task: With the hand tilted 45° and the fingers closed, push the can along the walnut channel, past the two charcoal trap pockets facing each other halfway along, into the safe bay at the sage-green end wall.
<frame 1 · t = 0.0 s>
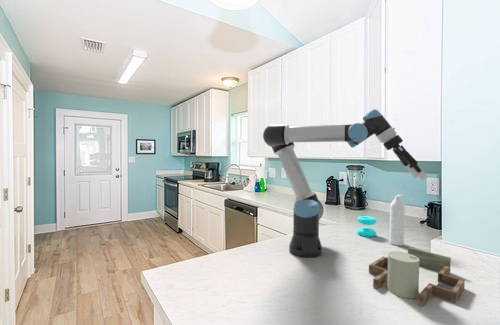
hand: (421, 177, 112), 36 cm above the countertop, tool tilted 35°, fingers open, 13 cm apart
can: (402, 291, 85), on the countertop
donuts: (366, 235, 147), on the countertop
white bottle: (397, 243, 133), on the countertop
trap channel: (413, 280, 92), on the countertop
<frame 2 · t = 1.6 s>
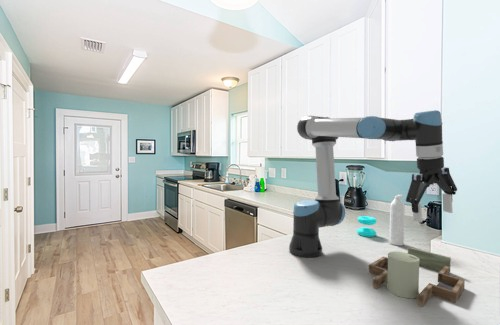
hand: (433, 216, 89), 24 cm above the countertop, tool pointing down, fingers open, 13 cm apart
nothing on the countertop moved.
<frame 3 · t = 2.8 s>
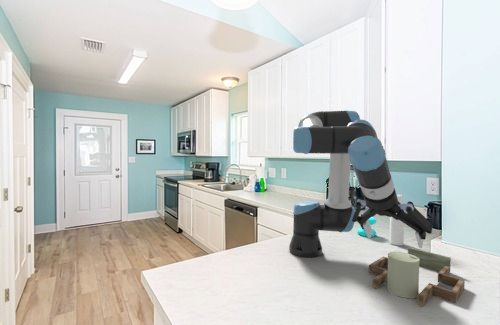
hand: (394, 239, 76), 20 cm above the countertop, tool tilted 40°, fingers open, 13 cm apart
nothing on the countertop moved.
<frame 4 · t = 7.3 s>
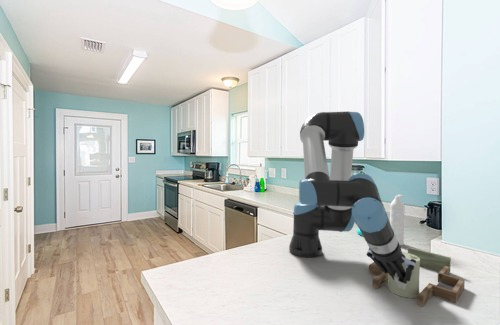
hand: (402, 284, 81), 4 cm above the countertop, tool tilted 45°, fingers closed
can: (402, 291, 85), on the countertop, touching gripper
everything else where it was.
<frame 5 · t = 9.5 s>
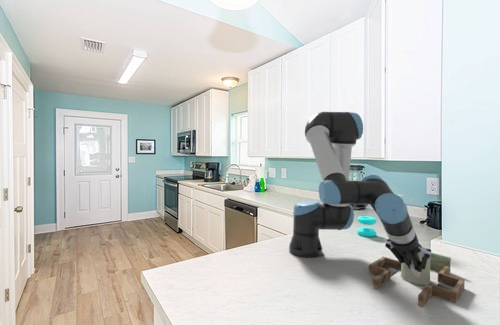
hand: (417, 273, 89), 4 cm above the countertop, tool tilted 45°, fingers closed
can: (415, 279, 93), on the countertop, touching gripper
everything else where it was.
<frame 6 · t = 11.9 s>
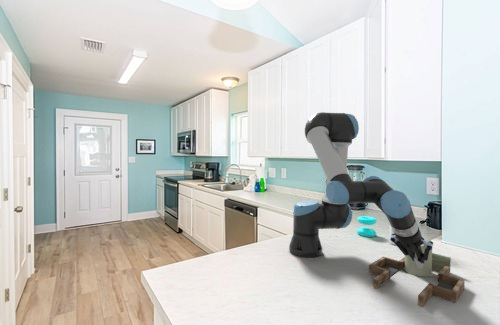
hand: (420, 265, 95), 4 cm above the countertop, tool tilted 45°, fingers closed
can: (417, 271, 100), on the countertop, touching gripper, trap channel
everything else where it was.
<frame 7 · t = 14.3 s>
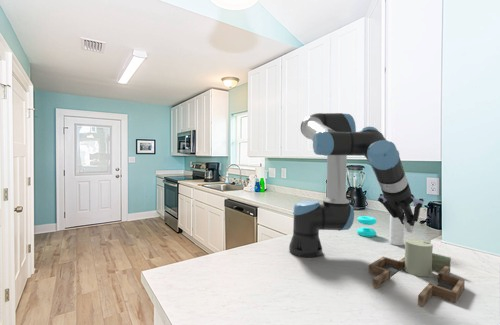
hand: (410, 229, 89), 20 cm above the countertop, tool tilted 45°, fingers closed
can: (417, 271, 100), on the countertop
everything else where it was.
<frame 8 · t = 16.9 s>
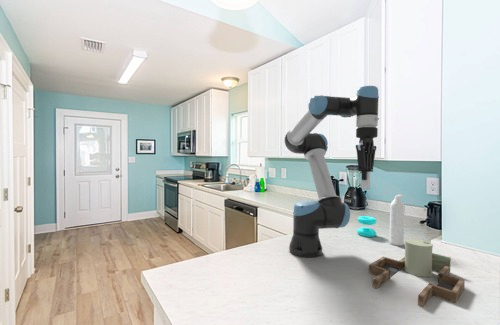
hand: (365, 188, 98), 32 cm above the countertop, tool pointing down, fingers closed
nothing on the countertop moved.
at the end: can inside the target area (2.1 cm from its centre), on the countertop; can tilted 0°; the gripper is holding nothing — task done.
